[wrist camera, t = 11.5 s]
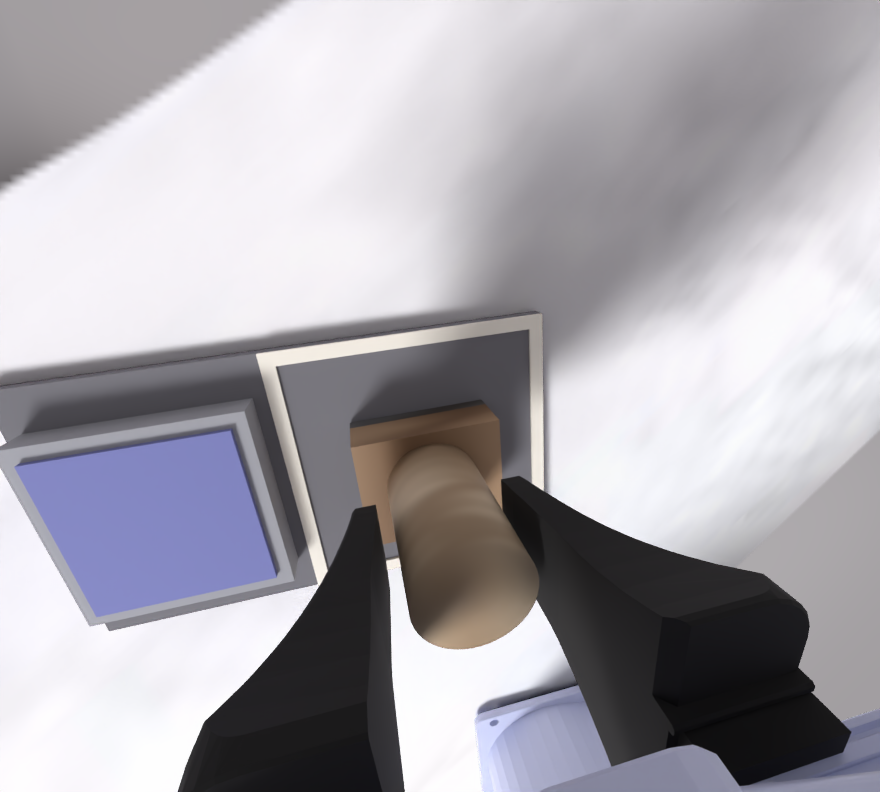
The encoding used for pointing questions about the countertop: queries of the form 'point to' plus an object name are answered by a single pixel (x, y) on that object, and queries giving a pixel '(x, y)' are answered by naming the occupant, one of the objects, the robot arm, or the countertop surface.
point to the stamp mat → (241, 458)
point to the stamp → (447, 520)
